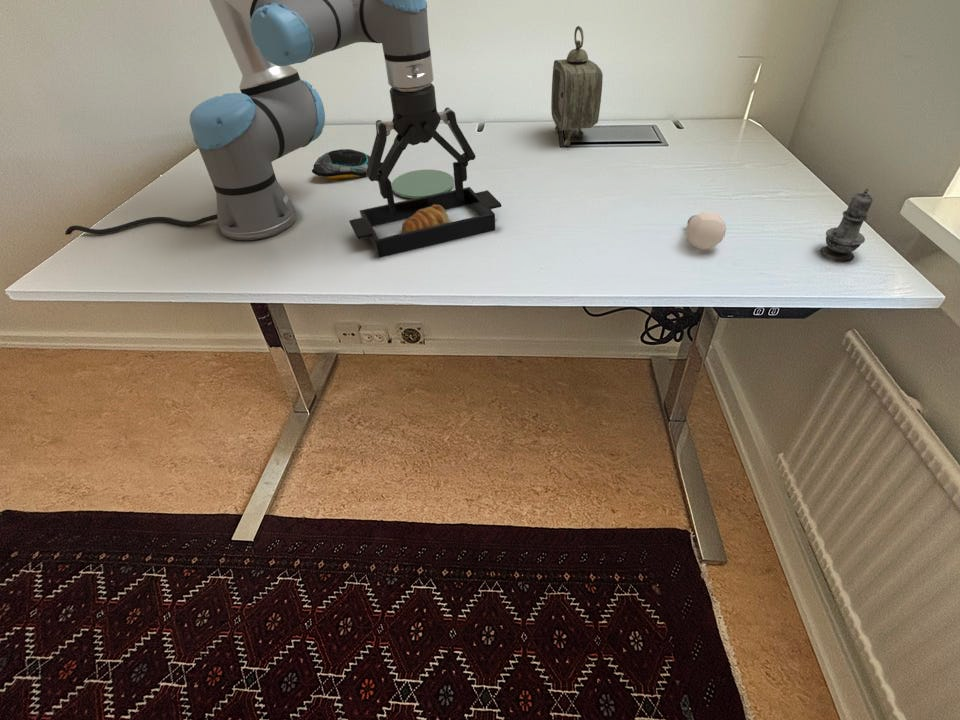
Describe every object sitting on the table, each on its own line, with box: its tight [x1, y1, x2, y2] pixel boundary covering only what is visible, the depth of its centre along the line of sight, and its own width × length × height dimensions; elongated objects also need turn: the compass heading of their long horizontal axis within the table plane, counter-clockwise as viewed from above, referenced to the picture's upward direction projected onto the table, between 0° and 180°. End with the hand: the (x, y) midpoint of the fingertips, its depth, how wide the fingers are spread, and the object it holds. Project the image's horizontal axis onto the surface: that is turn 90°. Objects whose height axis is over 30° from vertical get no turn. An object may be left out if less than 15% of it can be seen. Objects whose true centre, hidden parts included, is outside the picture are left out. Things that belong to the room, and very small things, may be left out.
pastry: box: [401, 204, 451, 233], centre depth 105 cm, size 9×7×4 cm
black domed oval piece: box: [311, 148, 383, 180], centre depth 126 cm, size 9×17×6 cm, turn 116°
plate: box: [391, 169, 455, 199], centre depth 121 cm, size 14×14×1 cm
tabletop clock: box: [550, 25, 604, 147], centre depth 131 cm, size 14×9×25 cm, turn 6°
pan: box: [349, 186, 502, 259], centre depth 105 cm, size 29×13×4 cm, turn 112°
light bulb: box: [685, 211, 727, 250], centre depth 97 cm, size 7×7×11 cm
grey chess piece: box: [819, 188, 874, 263], centre depth 90 cm, size 6×6×12 cm
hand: (426, 205), depth 103 cm, fingers open, 13 cm apart
